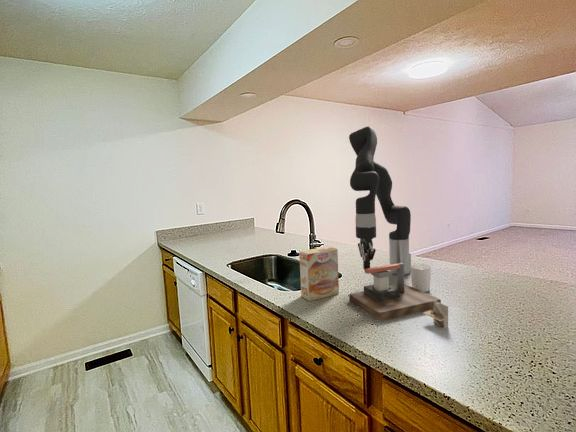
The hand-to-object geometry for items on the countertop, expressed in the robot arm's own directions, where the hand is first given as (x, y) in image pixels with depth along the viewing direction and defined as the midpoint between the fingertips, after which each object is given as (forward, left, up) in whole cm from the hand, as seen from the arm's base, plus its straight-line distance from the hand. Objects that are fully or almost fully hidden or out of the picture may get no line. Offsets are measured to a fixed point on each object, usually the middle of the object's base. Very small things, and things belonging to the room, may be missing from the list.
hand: (366, 269), depth 126 cm
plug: (-4, +3, -10) cm, 11 cm away
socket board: (-7, +6, -13) cm, 16 cm away
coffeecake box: (+13, -16, -13) cm, 24 cm away
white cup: (-27, -2, -13) cm, 30 cm away
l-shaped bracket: (-6, +3, -10) cm, 12 cm away
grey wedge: (-9, +26, -14) cm, 31 cm away
